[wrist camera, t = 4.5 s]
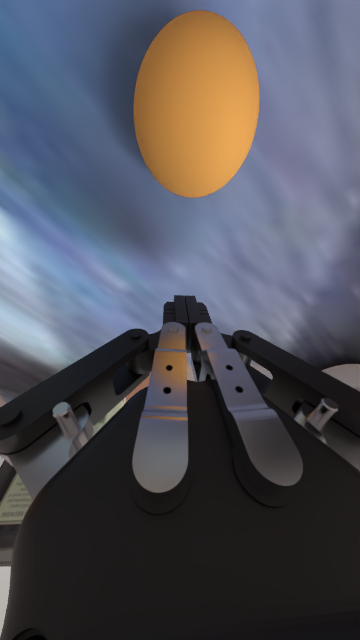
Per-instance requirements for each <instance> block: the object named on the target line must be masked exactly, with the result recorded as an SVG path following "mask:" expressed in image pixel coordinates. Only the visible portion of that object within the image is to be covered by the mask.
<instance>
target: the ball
mask: <svg viewBox="0 0 360 640" xmlns="http://www.w3.org/2000/svg"><path fill="white" fill-rule="evenodd" d="M258 114H259V83H258V75H257V71H256V66H255V62H254V59H253V56H252V53H251V51H250V49H249V47H248V45H247V43H246V41H245V39H244V38H243V36H242V35H241V33H240V32H239V31H238V29H237V28H236V27H235V26H234V25H233V24H232V23H231V22H229V21H228V20H227V19H226V18H224V17H222V16H220V15H218V14H216V13H213V12H209V11H202V10H195V11H191V12H186V13H184V14H182V15H180V16H177V17H176V18H174V19H173V20H172V21H170V22H169V23H168V24H167V25H166V26H165V27H164V28H163V29H162V30H161V31H160V32H159V33H158V35H157V36H156V37H155V39H154V40H153V41H152V43H151V45H150V46H149V48H148V50H147V52H146V54H145V56H144V59H143V61H142V64H141V66H140V70H139V73H138V77H137V82H136V88H135V94H134V125H135V132H136V137H137V142H138V145H139V148H140V152H141V154H142V157H143V159H144V162H145V163H146V165H147V167H148V169H149V171H150V172H151V173H152V175H153V176H154V178H155V179H156V180H157V181H158V182H159V183H160V184H161V185H162V186H163V187H164V188H166V189H167V190H169V191H170V192H172V193H174V194H176V195H179V196H183V197H189V198H197V197H203V196H206V195H209V194H211V193H213V192H215V191H217V190H218V189H220V188H221V187H223V186H224V185H225V184H226V183H227V182H229V181H230V179H231V178H232V177H233V176H234V175H235V174H236V172H237V171H238V169H239V168H240V167H241V165H242V163H243V162H244V160H245V158H246V156H247V154H248V152H249V149H250V147H251V144H252V141H253V138H254V135H255V130H256V126H257V120H258Z"/></svg>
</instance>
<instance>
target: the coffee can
mask: <svg viewBox="0 0 360 640" xmlns="http://www.w3.org/2000/svg"><path fill="white" fill-rule="evenodd" d="M125 401H126V397H125V398H124V399H123V400H122V401H121V402H120V403H119V404H117V405H116V406H115V407H114V408H113V409H112V410H111V411H110V412H109V413H108V414H107V415H106V416H104V417H103V418H102V419H101V420H100V421H99V422H98V423H97V424H96V425H95V426H94V427H93V428H94V431H93V435H92V437H93V436H94V435H95V434H96V433H97V432H98V431H99V430H100V429H101V428H102V427H103V426H104V425H105V424H106V423H107V422H108V420H109V419H110V418H111V417H112V416H113V415H114V414H115V413H116V412H117V411H118V410H119V409H120V408H121V407H122V406H123V405H124V404H125ZM32 502H33V500H32V498H31V496H30V494H29V493H28V491H27V489H26V487H25V486H24V484H23V482H22V480H21V478H20V477H19V475H18V473H17V471H16V470H15V468H14V467H13V466H11V465H10V464H9V463H8V462H7V461H6V460H4V462H3V464H2V465H1V467H0V566H11V560H12V552H13V547H14V543H15V540H16V536H17V533H18V530H19V527H20V525H21V523H22V520H23V518H24V516H25V514H26V512H27V510H28V508H29V507H30V505H31V503H32Z"/></svg>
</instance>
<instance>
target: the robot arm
mask: <svg viewBox="0 0 360 640" xmlns="http://www.w3.org/2000/svg"><path fill="white" fill-rule="evenodd" d="M186 350H187V353H191V366H192V370H193V374H194V378H195V381H190V380H187V360H186ZM251 360H253V361H255V362H256V363H258V364H259V365H261V366H262V367H264V368H266V369H267V370H269V371H270V372H271V374H272V376H273V379H272V380H271V379H269V378H268V377H266V376H265V375H263V374H262V373H260V372H259V371H257V370H256V369H254V368H253V367H251V366H250V363H251ZM122 366H123V367H122ZM118 369H119V370H118ZM150 372H151V375H150V380H149V385H148V387H146V388H144V389H142V390H140V391H139V392H137V393H136V394H135V395H134V396H132V397H131V398H130V399H129V400H128V401H127V402H126V403H125V404H124V405H123V406H122V407H121V408H120V409H119V410H118V411H117V412H116V413H115V414H114V415H113V416H112V417H111V418H110V419H109V420H108V422H107V423H106V424H105V425H104V426H103V427H102V428H101V429H100V430H99V431H98V432H97V433H96V434H95V435H94V436H93V437H92V435H93V431H94V428H93V427H94V426H95V425H96V424H97V423H98V422H99V421H100V420H101V419H102V418H103V417H104V416H106V415H107V414H108V413H109V412H110V411H111V410H112V409H113V408H114V407H115V406H116V405H117V404H119V403H120V402H121V401H122V400H123V399H124V398H125V397H126V396H127V395H128V394H129V393H131V392H132V391H133V390H134V389H135V388H136V387H137V386H138V385H139V384H140V383H141V382H142V381H143V380H145V379H146V378H147V377H148V376H149V374H150ZM0 456H1V457H2V458H4V459H5V460H6V461H7V462H8V463H9V464H10V465H11V466H13V467H14V468H15V470H16V471H17V473H18V475H19V477H20V478H21V480H22V482H23V484H24V486H25V487H26V489H27V491H28V493H29V494H30V496H31V498H32V500H33V502H32V503H31V505H30V507H29V508H28V510H27V512H26V514H25V516H24V518H23V520H22V523H21V525H20V527H19V530H18V533H17V536H16V540H15V543H14V547H13V552H12V560H11V577H10V590H9V597H8V604H7V609H6V615H5V620H4V625H3V629H2V633H1V637H0V640H360V391H358V390H356V389H354V388H352V387H351V386H349V385H347V384H345V383H343V382H341V381H340V380H338V379H336V378H334V377H332V376H330V375H329V374H327V373H325V372H323V371H321V370H319V369H317V368H316V367H314V366H312V365H310V364H308V363H306V362H305V361H303V360H301V359H299V358H297V357H295V356H294V355H292V354H290V353H288V352H286V351H284V350H283V349H281V348H279V347H277V346H275V345H273V344H272V343H270V342H268V341H266V340H264V339H262V338H260V337H259V336H257V335H255V334H253V333H251V332H249V331H245V330H238V331H235V332H234V333H233V336H231V335H226V334H222V333H220V331H219V329H218V328H217V327H216V326H215V325H213V324H212V322H211V319H210V316H209V313H208V311H207V308H206V306H205V305H204V304H203V303H199V302H197V301H196V298H195V296H185V297H184V296H182V295H174V302H166V303H165V305H164V313H163V326H162V328H161V330H160V331H158V332H156V333H153V334H149V335H148V333H147V331H145V330H143V329H131V330H128V331H126V332H125V333H123V334H121V335H120V336H118V337H116V338H115V339H113V340H111V341H110V342H108V343H106V344H105V345H103V346H101V347H100V348H98V349H97V350H95V351H93V352H92V353H90V354H88V355H87V356H85V357H83V358H82V359H80V360H78V361H77V362H75V363H73V364H72V365H70V366H68V367H67V368H65V369H63V370H62V371H60V372H58V373H57V374H55V375H53V376H52V377H50V378H48V379H47V380H45V381H43V382H42V383H40V384H38V385H37V386H35V387H33V388H32V389H30V390H28V391H27V392H25V393H23V394H22V395H20V396H19V397H17V398H15V399H14V400H12V401H10V402H9V403H7V404H5V405H4V406H2V407H0Z"/></svg>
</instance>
